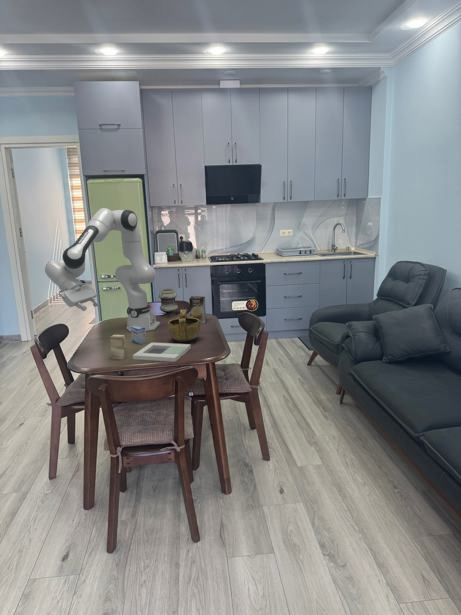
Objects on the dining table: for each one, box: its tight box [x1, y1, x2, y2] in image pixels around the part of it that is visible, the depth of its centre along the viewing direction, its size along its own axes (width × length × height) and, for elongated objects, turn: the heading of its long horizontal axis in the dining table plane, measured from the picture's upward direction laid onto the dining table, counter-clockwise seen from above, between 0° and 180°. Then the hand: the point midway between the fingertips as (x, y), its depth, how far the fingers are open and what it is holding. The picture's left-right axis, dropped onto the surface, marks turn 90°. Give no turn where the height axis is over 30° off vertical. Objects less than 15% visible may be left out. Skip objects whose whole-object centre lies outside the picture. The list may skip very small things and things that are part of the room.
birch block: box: [109, 334, 128, 360], centre depth 203 cm, size 4×6×11 cm, turn 74°
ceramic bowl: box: [167, 308, 201, 343], centre depth 225 cm, size 22×17×15 cm
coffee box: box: [188, 296, 207, 324], centre depth 261 cm, size 9×6×16 cm
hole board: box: [132, 342, 192, 363], centre depth 207 cm, size 20×22×2 cm
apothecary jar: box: [158, 288, 179, 318], centre depth 281 cm, size 12×12×18 cm
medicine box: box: [130, 326, 147, 345], centre depth 226 cm, size 8×4×9 cm, turn 45°
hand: (91, 307), depth 202 cm, fingers open, 8 cm apart
